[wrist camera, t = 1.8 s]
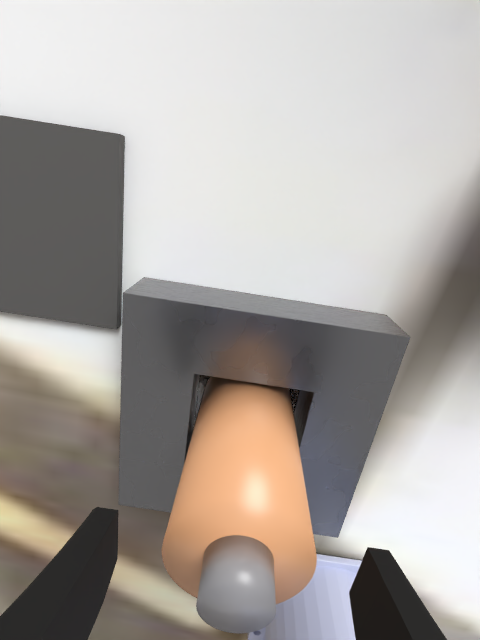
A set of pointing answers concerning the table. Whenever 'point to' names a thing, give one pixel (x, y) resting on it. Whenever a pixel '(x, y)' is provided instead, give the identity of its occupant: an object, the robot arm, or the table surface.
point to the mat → (61, 222)
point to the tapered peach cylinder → (241, 508)
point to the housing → (256, 367)
